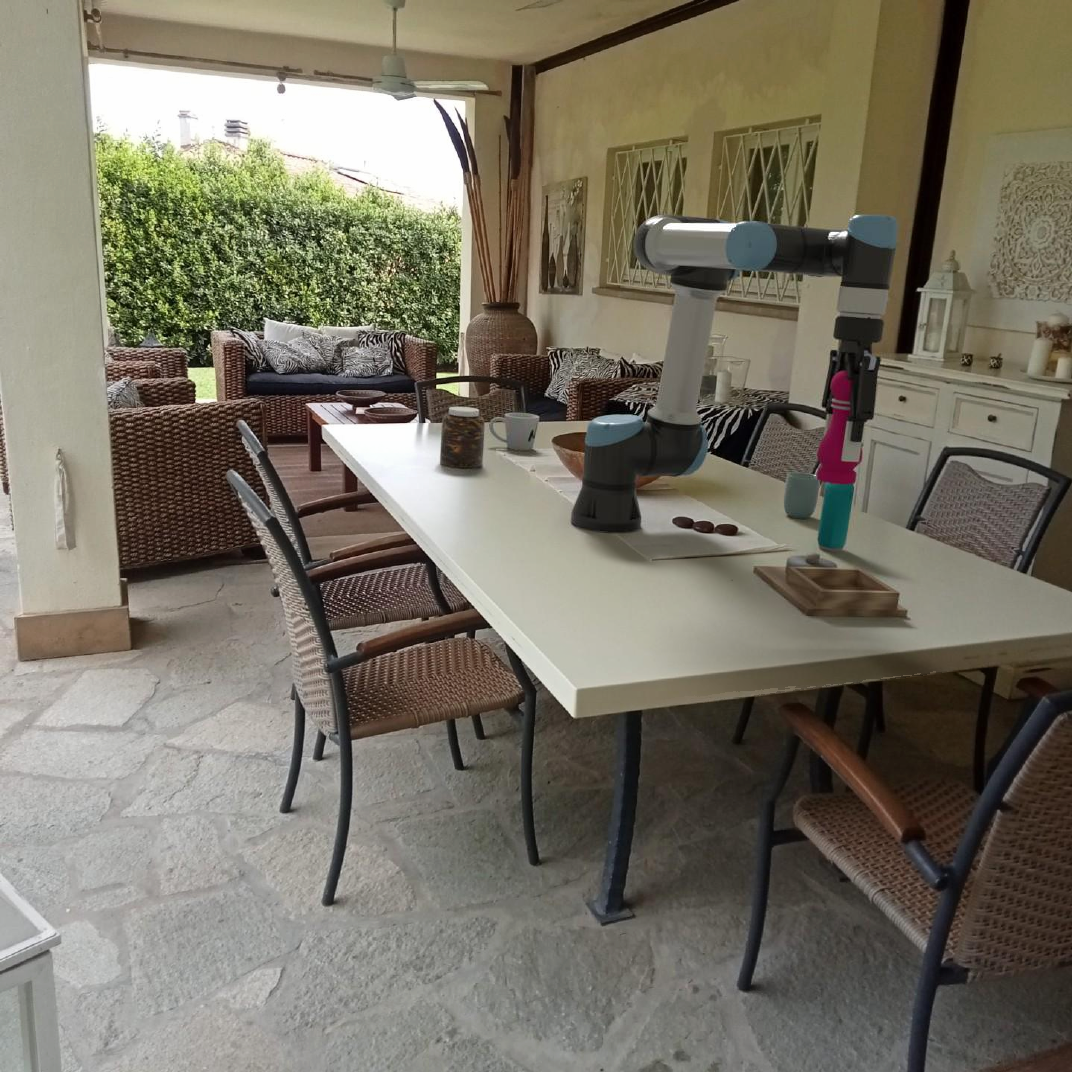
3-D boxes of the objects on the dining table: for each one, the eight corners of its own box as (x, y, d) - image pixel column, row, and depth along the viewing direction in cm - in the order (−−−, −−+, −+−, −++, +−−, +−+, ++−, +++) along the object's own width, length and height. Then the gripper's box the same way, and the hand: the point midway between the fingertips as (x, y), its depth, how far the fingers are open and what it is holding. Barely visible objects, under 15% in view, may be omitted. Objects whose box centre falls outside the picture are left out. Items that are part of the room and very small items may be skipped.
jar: (491, 465, 271) (494, 410, 267) (466, 470, 261) (469, 413, 257) (456, 458, 277) (459, 404, 273) (430, 463, 267) (433, 407, 263)
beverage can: (844, 547, 211) (855, 478, 207) (843, 554, 205) (855, 483, 201) (817, 543, 212) (827, 474, 208) (815, 549, 207) (825, 479, 203)
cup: (815, 522, 232) (822, 480, 229) (781, 518, 233) (787, 476, 231) (813, 515, 239) (819, 474, 237) (780, 511, 241) (786, 470, 238)
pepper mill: (807, 475, 170) (824, 356, 165) (849, 477, 170) (866, 359, 165) (821, 483, 163) (839, 360, 158) (864, 486, 163) (883, 363, 158)
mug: (536, 452, 295) (539, 419, 292) (486, 448, 294) (488, 415, 292) (537, 446, 305) (539, 414, 302) (488, 443, 305) (490, 410, 302)
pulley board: (806, 615, 165) (810, 585, 163) (753, 572, 188) (756, 545, 186) (906, 616, 168) (911, 587, 166) (842, 573, 191) (846, 547, 189)
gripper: (913, 320, 151) (889, 469, 157) (855, 314, 170) (835, 447, 176) (866, 317, 150) (844, 467, 155) (813, 312, 169) (795, 445, 175)
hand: (839, 456), depth 166 cm, fingers closed on pepper mill, 7 cm apart
